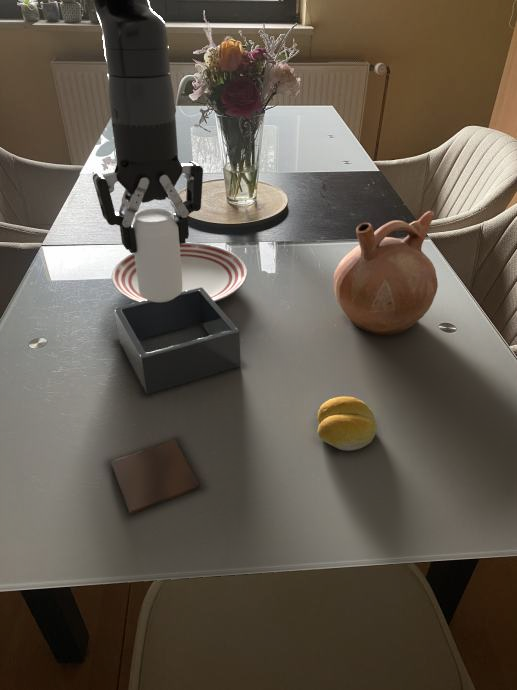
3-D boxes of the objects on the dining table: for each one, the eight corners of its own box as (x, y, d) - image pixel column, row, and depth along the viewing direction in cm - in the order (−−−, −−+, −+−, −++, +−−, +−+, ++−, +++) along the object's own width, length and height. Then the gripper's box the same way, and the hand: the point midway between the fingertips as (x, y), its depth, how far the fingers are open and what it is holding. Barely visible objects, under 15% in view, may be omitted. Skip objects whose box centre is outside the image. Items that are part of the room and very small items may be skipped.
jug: (396, 287, 111) (412, 192, 99) (450, 333, 97) (476, 229, 85) (315, 302, 106) (322, 204, 94) (359, 353, 92) (375, 245, 80)
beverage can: (189, 288, 79) (184, 209, 72) (173, 308, 74) (166, 226, 68) (150, 282, 81) (142, 204, 74) (132, 302, 76) (121, 220, 69)
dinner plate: (269, 270, 116) (269, 257, 114) (202, 333, 96) (201, 317, 95) (165, 246, 127) (164, 232, 125) (85, 298, 107) (81, 283, 105)
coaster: (129, 514, 65) (129, 512, 64) (111, 464, 71) (110, 461, 71) (199, 487, 68) (199, 485, 68) (175, 442, 75) (175, 439, 74)
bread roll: (317, 452, 73) (319, 430, 71) (316, 408, 80) (318, 387, 78) (378, 455, 73) (382, 434, 70) (372, 410, 80) (375, 390, 78)
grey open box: (147, 394, 83) (141, 358, 79) (119, 341, 94) (113, 307, 90) (240, 366, 89) (240, 331, 85) (204, 319, 100) (202, 287, 96)
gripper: (188, 105, 69) (195, 228, 79) (75, 114, 64) (97, 245, 73) (211, 116, 64) (216, 247, 73) (89, 127, 58) (111, 267, 68)
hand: (156, 245), depth 73 cm, fingers closed on beverage can, 6 cm apart
